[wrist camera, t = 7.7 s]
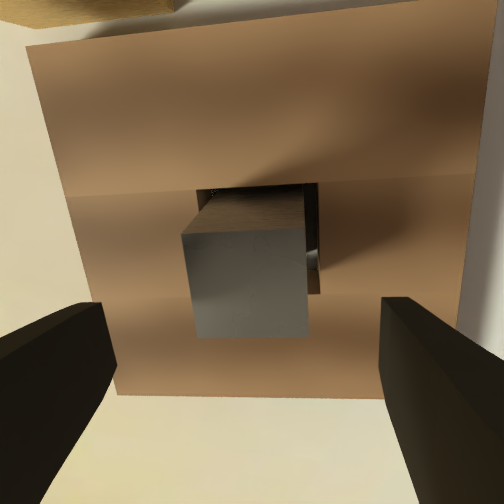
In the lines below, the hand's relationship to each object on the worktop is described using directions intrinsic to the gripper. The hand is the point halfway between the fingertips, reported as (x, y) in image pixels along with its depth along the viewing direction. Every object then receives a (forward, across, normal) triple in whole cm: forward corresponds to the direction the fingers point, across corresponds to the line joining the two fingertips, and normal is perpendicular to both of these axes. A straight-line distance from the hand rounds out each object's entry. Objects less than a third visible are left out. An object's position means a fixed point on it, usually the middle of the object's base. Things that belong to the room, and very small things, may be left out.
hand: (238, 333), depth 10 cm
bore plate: (+9, 0, 0) cm, 9 cm away
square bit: (+9, 0, 0) cm, 9 cm away
